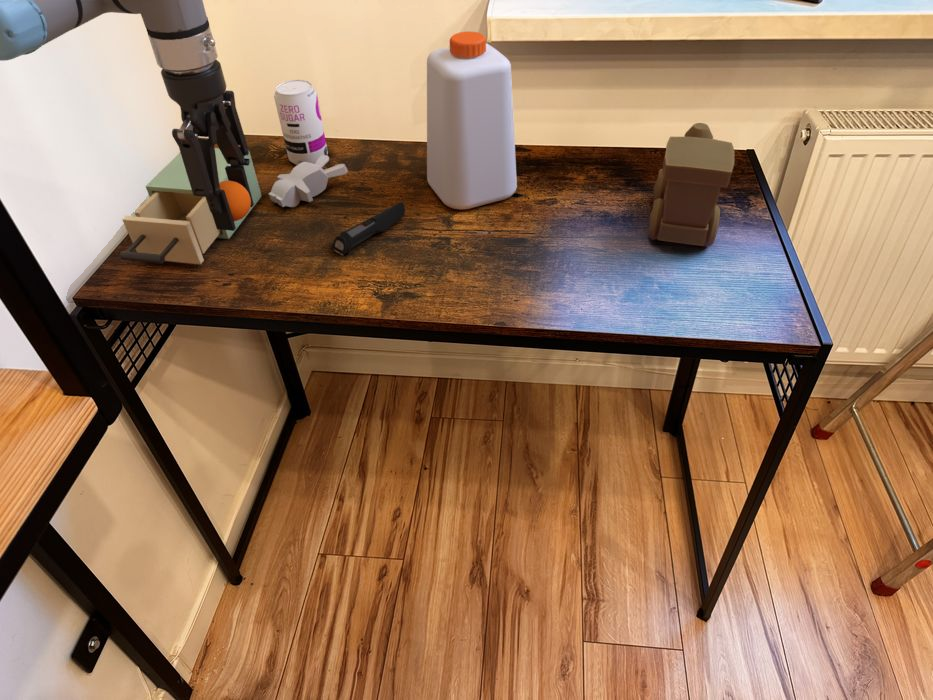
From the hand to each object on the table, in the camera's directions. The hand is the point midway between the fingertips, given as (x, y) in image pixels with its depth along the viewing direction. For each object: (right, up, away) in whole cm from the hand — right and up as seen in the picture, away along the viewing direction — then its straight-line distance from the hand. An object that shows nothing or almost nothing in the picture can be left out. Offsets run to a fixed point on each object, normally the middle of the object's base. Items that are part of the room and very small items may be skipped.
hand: (235, 216), depth 103 cm
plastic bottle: (+37, +11, +27) cm, 46 cm away
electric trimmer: (+18, 0, +16) cm, 25 cm away
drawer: (-14, -3, +13) cm, 19 cm away
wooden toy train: (+73, +1, +16) cm, 75 cm away
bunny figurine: (+5, +10, +27) cm, 29 cm away
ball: (0, +2, -2) cm, 3 cm away
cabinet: (-12, +5, +22) cm, 26 cm away
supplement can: (+3, +19, +37) cm, 42 cm away
